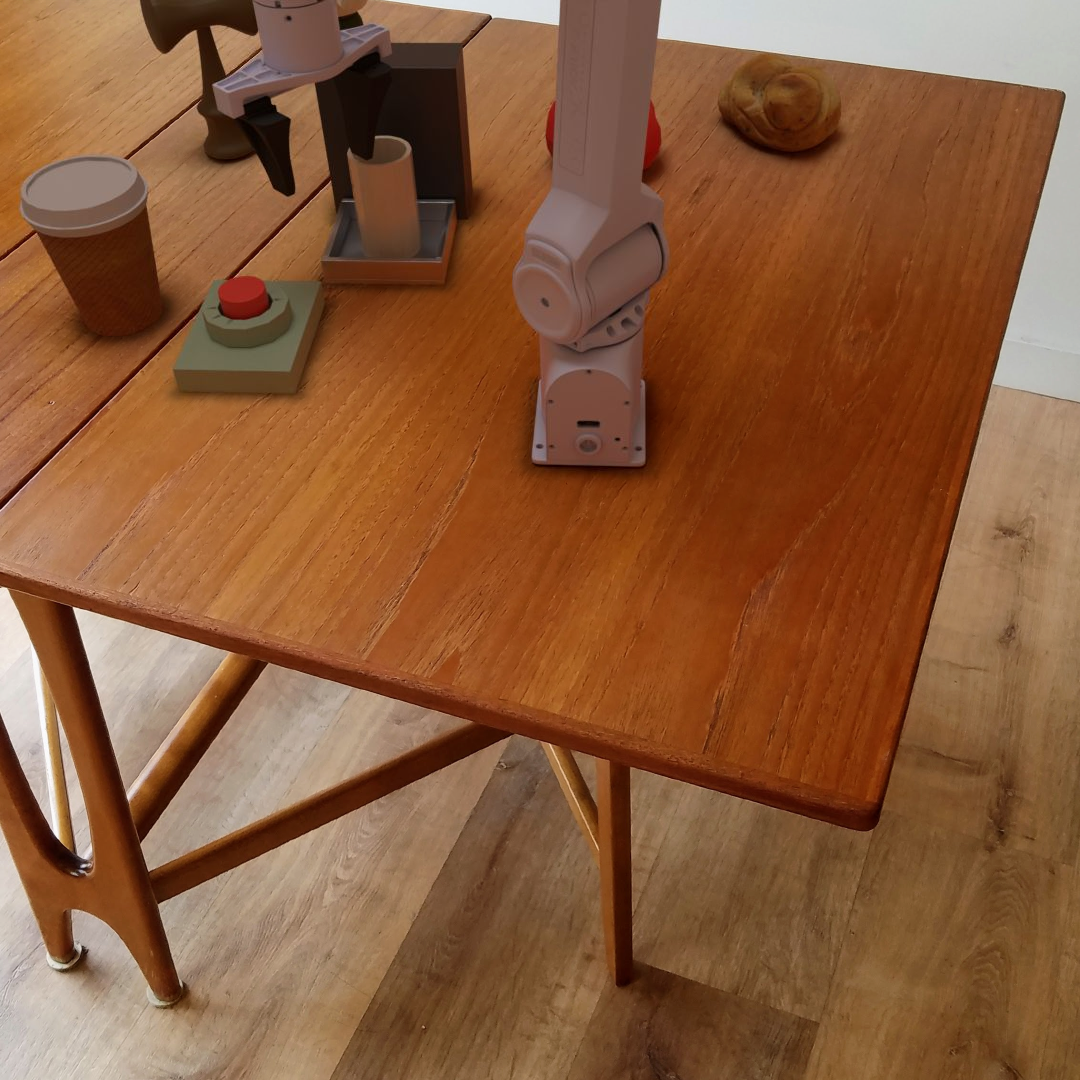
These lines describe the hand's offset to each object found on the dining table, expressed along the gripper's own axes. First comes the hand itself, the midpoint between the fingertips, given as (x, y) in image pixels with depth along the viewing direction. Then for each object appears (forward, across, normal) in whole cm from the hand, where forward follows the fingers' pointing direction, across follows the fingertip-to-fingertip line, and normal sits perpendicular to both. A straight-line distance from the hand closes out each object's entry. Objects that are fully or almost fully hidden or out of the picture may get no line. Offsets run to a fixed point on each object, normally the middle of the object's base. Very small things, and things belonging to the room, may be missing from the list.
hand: (323, 172), depth 90 cm
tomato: (+11, -30, +2) cm, 32 cm away
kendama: (+11, -7, -27) cm, 30 cm away
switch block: (+10, +10, +2) cm, 15 cm away
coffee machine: (+10, -12, -6) cm, 17 cm away
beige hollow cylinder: (+10, -6, -1) cm, 12 cm away
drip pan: (+10, -6, -1) cm, 12 cm away
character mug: (+11, -27, -34) cm, 44 cm away
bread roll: (+11, -47, +10) cm, 49 cm away
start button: (+7, +10, +2) cm, 12 cm away
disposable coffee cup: (+11, +15, -10) cm, 21 cm away
